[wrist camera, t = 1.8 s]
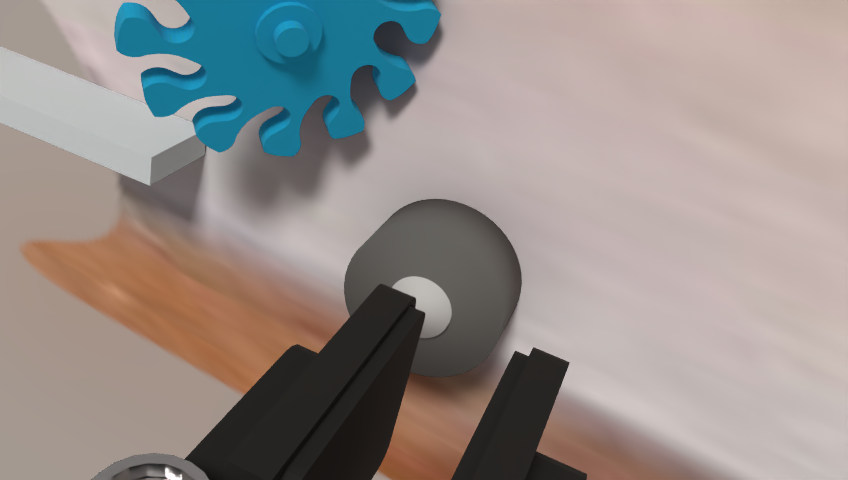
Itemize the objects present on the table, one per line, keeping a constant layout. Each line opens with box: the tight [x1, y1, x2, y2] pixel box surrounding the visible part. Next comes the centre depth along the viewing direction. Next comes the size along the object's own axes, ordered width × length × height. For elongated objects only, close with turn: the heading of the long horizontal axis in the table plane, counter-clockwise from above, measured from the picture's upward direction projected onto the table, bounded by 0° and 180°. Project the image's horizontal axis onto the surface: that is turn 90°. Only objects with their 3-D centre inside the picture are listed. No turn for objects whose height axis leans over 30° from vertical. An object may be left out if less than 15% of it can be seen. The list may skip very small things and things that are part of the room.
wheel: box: [344, 199, 522, 377], centre depth 30 cm, size 6×6×3 cm
